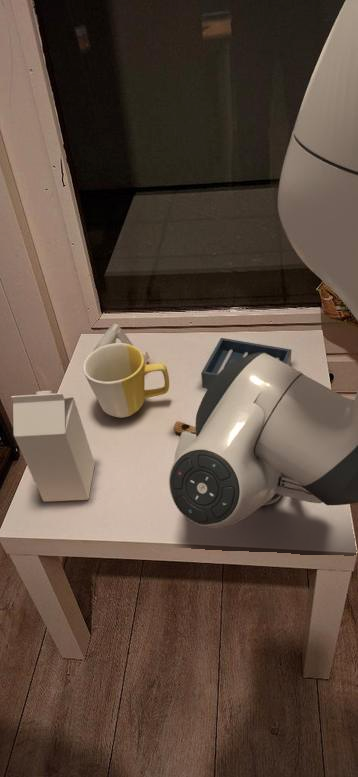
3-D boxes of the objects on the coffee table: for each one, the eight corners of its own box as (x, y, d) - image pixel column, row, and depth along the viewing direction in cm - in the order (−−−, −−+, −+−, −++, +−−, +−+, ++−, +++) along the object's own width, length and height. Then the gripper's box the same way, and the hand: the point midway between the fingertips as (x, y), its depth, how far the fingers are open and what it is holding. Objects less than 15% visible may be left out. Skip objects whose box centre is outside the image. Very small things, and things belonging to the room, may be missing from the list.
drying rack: (290, 364, 101) (291, 349, 98) (275, 402, 94) (276, 387, 91) (221, 351, 105) (220, 337, 103) (202, 387, 99) (201, 372, 96)
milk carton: (89, 500, 82) (57, 412, 70) (43, 502, 83) (3, 415, 70) (95, 464, 88) (67, 375, 75) (52, 466, 88) (17, 379, 75)
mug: (88, 426, 94) (74, 381, 87) (104, 386, 101) (92, 341, 94) (165, 430, 91) (157, 384, 84) (175, 389, 99) (169, 343, 92)
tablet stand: (134, 390, 99) (124, 354, 94) (95, 385, 102) (84, 350, 96) (150, 361, 105) (142, 325, 100) (113, 357, 108) (104, 322, 102)
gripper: (337, 467, 61) (343, 459, 74) (170, 428, 68) (203, 427, 81) (325, 522, 61) (334, 505, 74) (160, 477, 68) (194, 468, 81)
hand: (264, 464), depth 77 cm, fingers open, 8 cm apart
